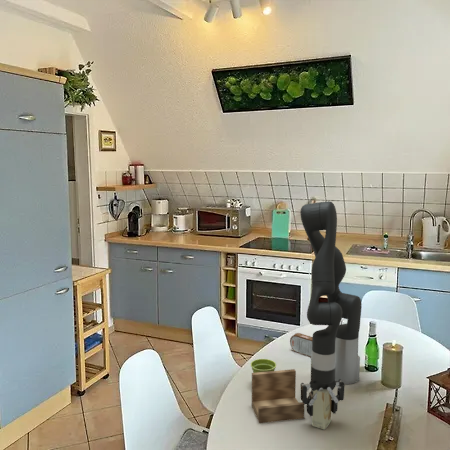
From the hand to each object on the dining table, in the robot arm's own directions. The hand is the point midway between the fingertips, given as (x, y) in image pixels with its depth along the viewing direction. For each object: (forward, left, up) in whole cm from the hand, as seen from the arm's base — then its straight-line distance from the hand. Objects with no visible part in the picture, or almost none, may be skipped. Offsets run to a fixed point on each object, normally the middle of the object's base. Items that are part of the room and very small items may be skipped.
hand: (321, 413), depth 147 cm
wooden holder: (+12, -9, -3) cm, 15 cm away
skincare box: (0, 0, -4) cm, 4 cm away
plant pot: (+12, -27, -4) cm, 30 cm away
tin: (-13, -51, -4) cm, 53 cm away
